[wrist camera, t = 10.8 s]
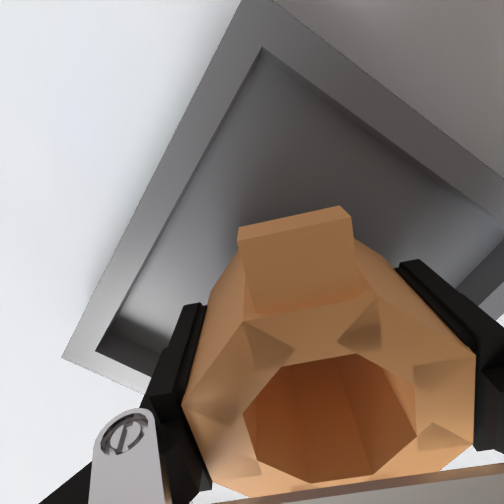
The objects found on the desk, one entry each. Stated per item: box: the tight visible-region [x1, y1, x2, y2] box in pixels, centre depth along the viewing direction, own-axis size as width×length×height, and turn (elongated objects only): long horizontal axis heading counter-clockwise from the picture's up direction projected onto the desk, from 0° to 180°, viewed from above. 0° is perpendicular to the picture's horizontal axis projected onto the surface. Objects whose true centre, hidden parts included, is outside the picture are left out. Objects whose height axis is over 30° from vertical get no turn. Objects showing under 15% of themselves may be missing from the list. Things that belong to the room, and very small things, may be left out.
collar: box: [181, 205, 476, 498], centre depth 9 cm, size 6×8×5 cm
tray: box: [61, 0, 504, 395], centre depth 13 cm, size 13×14×2 cm
